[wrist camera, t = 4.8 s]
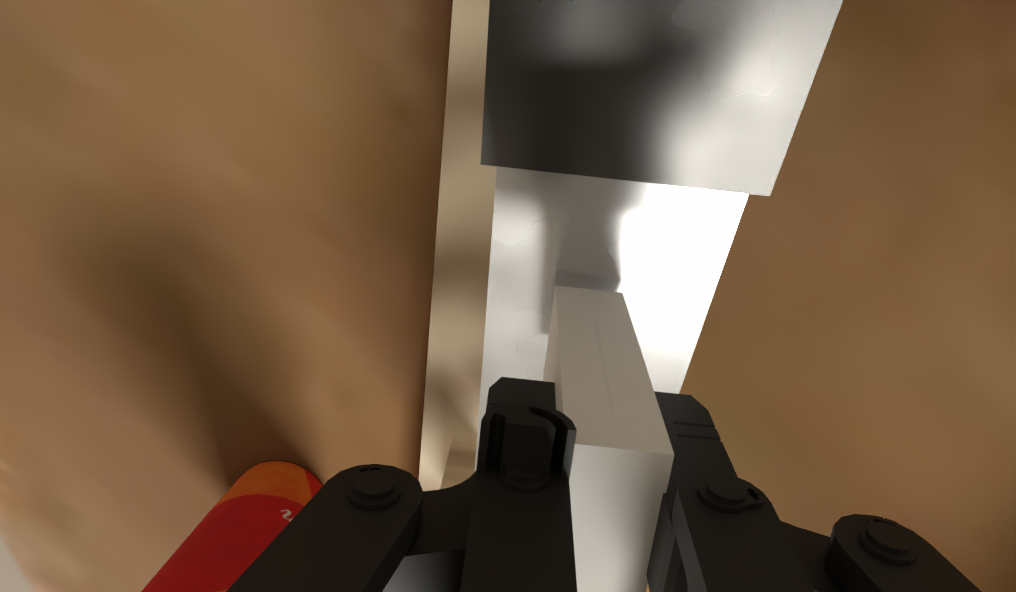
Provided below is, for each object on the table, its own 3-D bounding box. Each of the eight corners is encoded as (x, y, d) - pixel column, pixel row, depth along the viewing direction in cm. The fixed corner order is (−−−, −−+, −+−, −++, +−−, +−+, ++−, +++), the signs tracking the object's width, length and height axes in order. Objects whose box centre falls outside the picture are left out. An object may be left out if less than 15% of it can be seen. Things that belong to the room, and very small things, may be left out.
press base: (625, 556, 42) (661, 786, 29) (419, 531, 42) (361, 750, 29) (736, -50, 32) (870, -122, 19) (464, -79, 32) (406, -169, 19)
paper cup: (325, 575, 44) (230, 802, 31) (202, 530, 43) (50, 743, 30) (366, 470, 41) (281, 668, 28) (236, 421, 41) (87, 600, 28)
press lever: (594, 601, 31) (594, 665, 29) (462, 585, 31) (453, 648, 29) (832, -128, 13) (875, -88, 11) (510, -162, 13) (496, -127, 11)
